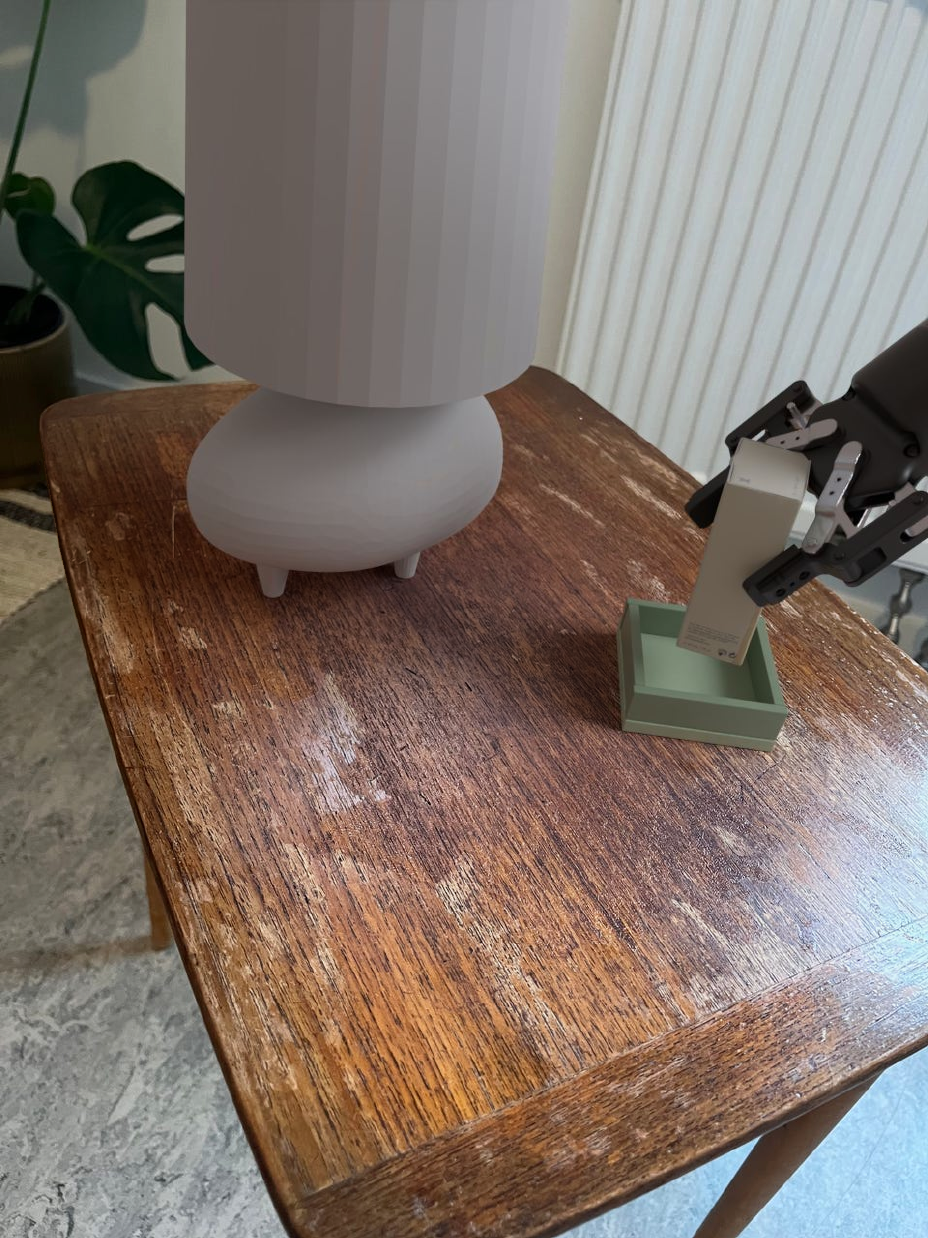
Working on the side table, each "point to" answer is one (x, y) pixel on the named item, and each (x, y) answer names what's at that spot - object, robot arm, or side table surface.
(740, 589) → the cosmetic box
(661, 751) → the side table surface
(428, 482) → the table lamp
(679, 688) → the green open storage bin
